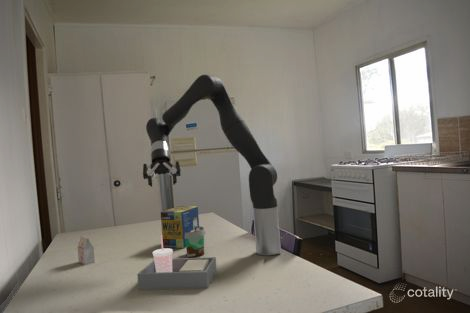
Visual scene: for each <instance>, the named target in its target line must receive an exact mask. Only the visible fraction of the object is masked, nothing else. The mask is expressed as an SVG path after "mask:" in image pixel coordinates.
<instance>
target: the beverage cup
mask: <svg viewBox="0 0 470 313" xmlns="http://www.w3.org/2000/svg"><path fill="white" fill-rule="evenodd" d="M160 243H161V248H158V249H155V250H154V251H152V256H153V260H154V261H155V268H156V273H159V272H172V259H173V254H174V251H173V250H174V249H173V248H164V247H163V238H162V234H160Z"/></svg>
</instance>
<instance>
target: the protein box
mask: <svg viewBox="0 0 470 313" xmlns="http://www.w3.org/2000/svg"><path fill="white" fill-rule="evenodd" d="M160 221H161V222H160V223H161V225H160V226H161V235H162V238H163V248H170V249H185V248H186V240H185V233H189V231H190V230H193V229H194V226H200V222H199V221H200V219H199V206H197V205H196V206H193V205H191V206H190V205H189V206H188V205H185V206H184V205H180V206H175V207H172V208H169V209H166V210H163V211H160Z"/></svg>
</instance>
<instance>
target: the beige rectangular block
mask: <svg viewBox="0 0 470 313" xmlns="http://www.w3.org/2000/svg"><path fill="white" fill-rule="evenodd" d="M208 265H209V261H208V259H205V260H188V261H187V262H186V263H185V264H184V266H183V267H182V268H181V269H180V270H179V272H194V271H205V270H206V268H207V266H208Z"/></svg>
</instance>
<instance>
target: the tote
mask: <svg viewBox="0 0 470 313" xmlns="http://www.w3.org/2000/svg"><path fill="white" fill-rule="evenodd" d="M205 259H208V261H209V265H208V266H207V268H206V270H205V271H194V272H179V270H180V269H181V268H182V267H183V266H184V264H185V263H186V262H187V261H188V260H205ZM217 272H218V270H217V258H216V256H213V257H212V256H211V257H209V256H207V257H197V258H187V257H184V258H183V257H182V258H181V257H179V258H172V272H159V273H156V268H155V261H154V259H152V261H150V263H148V264H147V265H146V266H145V267H143V269H142V270H140V271H139V272H138V273H136V274H137V275H136V276H137V288H138V291H139V290H177V289H178V290H179V289H181V290H182V289H184V290H185V289H187V290H189V289H209V287H210V285H211V283H212V281H213V279H214V277H215V275H216V273H217Z"/></svg>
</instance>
